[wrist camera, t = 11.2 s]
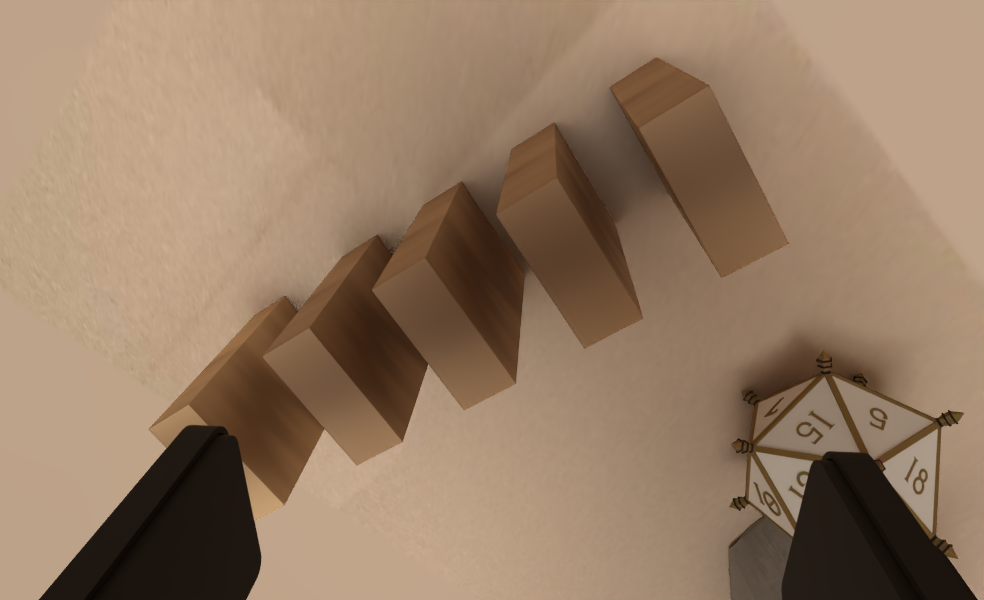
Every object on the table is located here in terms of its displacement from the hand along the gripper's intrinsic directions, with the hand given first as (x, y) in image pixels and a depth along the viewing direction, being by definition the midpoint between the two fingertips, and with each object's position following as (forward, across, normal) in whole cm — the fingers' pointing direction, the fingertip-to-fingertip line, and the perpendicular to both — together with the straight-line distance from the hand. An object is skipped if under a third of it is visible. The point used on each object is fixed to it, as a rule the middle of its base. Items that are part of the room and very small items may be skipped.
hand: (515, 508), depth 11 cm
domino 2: (+18, +6, +4) cm, 20 cm away
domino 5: (+18, -5, -3) cm, 19 cm away
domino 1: (+18, +11, +8) cm, 23 cm away
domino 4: (+18, -1, 0) cm, 19 cm away
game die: (+19, -13, +10) cm, 25 cm away
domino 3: (+18, +3, +2) cm, 19 cm away
